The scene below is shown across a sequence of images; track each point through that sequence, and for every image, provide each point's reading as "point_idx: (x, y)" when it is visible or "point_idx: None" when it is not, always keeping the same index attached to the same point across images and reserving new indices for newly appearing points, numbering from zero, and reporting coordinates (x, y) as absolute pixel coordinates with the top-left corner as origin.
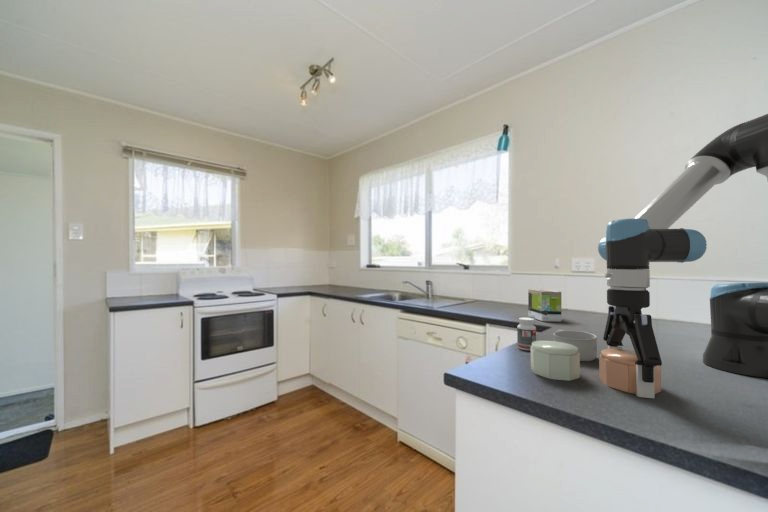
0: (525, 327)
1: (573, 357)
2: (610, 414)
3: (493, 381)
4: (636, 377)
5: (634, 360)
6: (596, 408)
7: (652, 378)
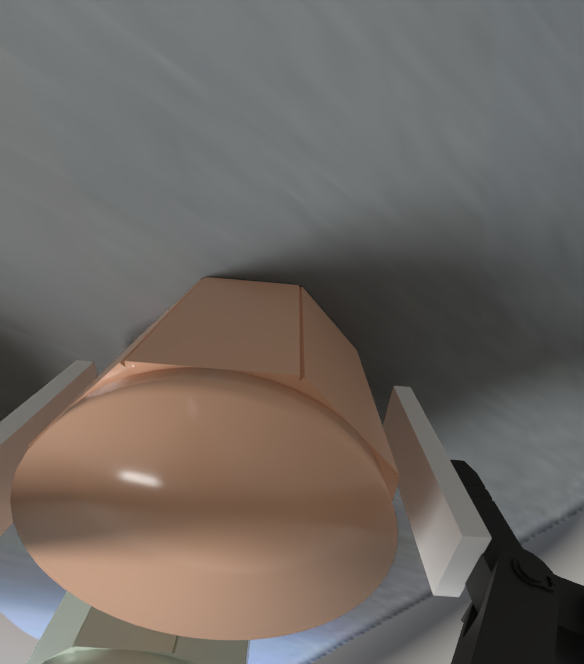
0: None
1: (220, 659)
2: None
3: (265, 654)
4: (406, 504)
5: (360, 573)
6: None
7: (479, 486)
